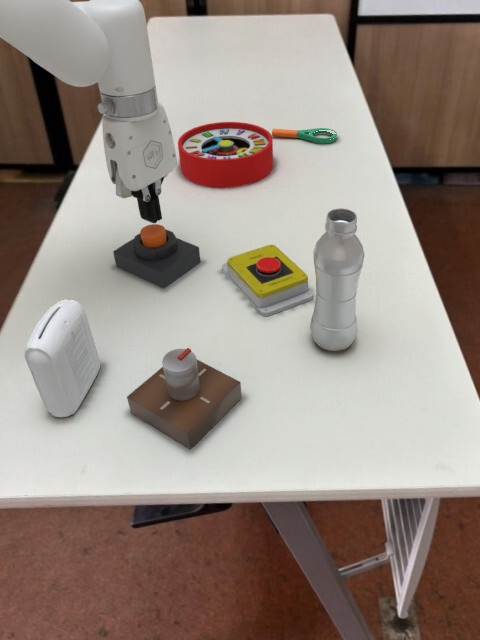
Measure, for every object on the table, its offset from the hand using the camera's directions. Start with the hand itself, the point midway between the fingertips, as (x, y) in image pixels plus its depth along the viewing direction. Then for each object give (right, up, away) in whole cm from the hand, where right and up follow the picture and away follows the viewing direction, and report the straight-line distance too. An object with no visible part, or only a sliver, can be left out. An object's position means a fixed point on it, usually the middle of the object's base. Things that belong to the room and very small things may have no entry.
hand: (151, 218), depth 91 cm
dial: (+8, -25, -20) cm, 33 cm away
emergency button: (+18, -10, +1) cm, 21 cm away
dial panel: (+8, -28, -18) cm, 34 cm away
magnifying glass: (+27, +28, +43) cm, 59 cm away
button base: (0, -7, +6) cm, 9 cm away
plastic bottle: (+28, -20, -9) cm, 35 cm away
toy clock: (+10, +18, +34) cm, 40 cm away
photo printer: (-7, -26, -15) cm, 31 cm away
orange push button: (0, -3, +3) cm, 4 cm away
